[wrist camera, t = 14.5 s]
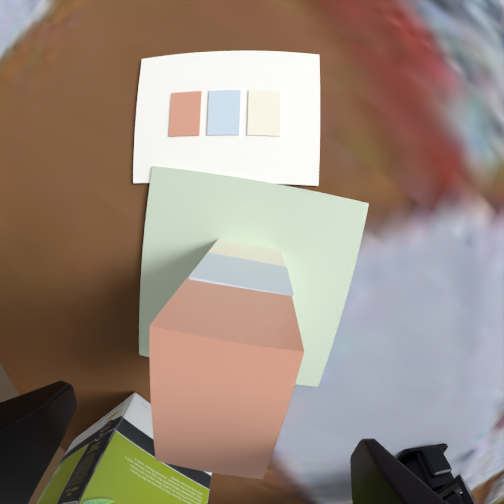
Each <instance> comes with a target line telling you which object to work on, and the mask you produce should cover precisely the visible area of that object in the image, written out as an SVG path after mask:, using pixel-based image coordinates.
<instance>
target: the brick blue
mask: <svg viewBox="0 0 504 504" xmlns="http://www.w3.org/2000/svg"><path fill="white" fill-rule="evenodd" d="M188 279H191V280H197V281H202V282H208V283H214V284H220V285H226V286H232V287H238V288H244V289H251V290H257V291H263V292H270V293H276V294H283V295H290V296H292V299H293V298H294V293H293V289H292V285H291V281H290V277H289V274H288V270H287V267H285V266H280V265H274V264H268V263H263V262H257V261H252V260H246V259H241V258H235V257H230V256H224V255H219V254H213V253H207V254H206V255H205V257H204V258H203V259H202V260H201V262H200V263H199V264H198V265H197V267H196V268H195V269H194V270H193V272H192V273H191V274H190V275H189V278H188Z"/></svg>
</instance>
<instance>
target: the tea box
mask: <svg viewBox="0 0 504 504" xmlns="http://www.w3.org/2000/svg"><path fill="white" fill-rule="evenodd" d="M211 476H212V473H211V472H205V471H200V470H195V469H190V468H185V467H181V466H176V465H172V464H168V463H164V462H160V461H156V459H155V449H154V438H153V426H152V411H151V404H150V403H149V402H148V401H146V400H145V399H144V398H143V397H141V396H140V395H139V394H137V393H135V392H134V393H133V394H132V395H131V396H129V397H128V398H127V399H126V400H124V401H123V402H122V403H121V404H119V405H118V406H117V407H115V408H114V409H113V410H112V411H110V412H109V413H108V414H106V415H105V416H104V417H102V418H101V419H100V420H99V421H97V422H96V423H95V424H93V425H92V426H91V427H89V428H88V429H87V430H85V431H84V432H83V433H81V434H80V435H79V436H78V437H76V438H75V439H74V440H73V442H72V444H71V445H70V447H69V448H68V450H67V452H66V453H65V455H64V457H63V459H62V460H61V462H60V463H59V465H58V467H57V468H56V470H55V472H54V474H53V476H52V477H51V479H50V481H49V483H48V484H47V485H46V487H45V489H44V491H43V493H42V494H41V496H40V498H39V500H38V502H37V503H36V504H207V503H208V497H209V490H210V482H211Z"/></svg>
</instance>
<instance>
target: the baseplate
mask: <svg viewBox="0 0 504 504" xmlns="http://www.w3.org/2000/svg"><path fill="white" fill-rule="evenodd" d="M368 205H369V203H365V202H360V201H356V200H352V199H347V198H343V197H339V196H334V195H329V194H325V193H320V192H315V191H310V190H305V189H300V188H295V187H290V186H285V185H279V184H274V183H268V182H263V181H257V180H251V179H245V178H239V177H232V176H226V175H219V174H212V173H205V172H198V171H191V170H183V169H175V168H167V167H158V166H152V173H151V179H150V187H149V194H148V202H147V211H146V220H145V229H144V240H143V252H142V266H141V283H140V308H139V355H142V356H146V357H150V356H149V328H150V324H151V323H152V322H153V320H154V319H155V318H156V317H157V315H158V314H159V313H160V311H161V310H162V309H163V308H164V306H165V305H166V304H167V302H168V301H169V300H170V299H171V297H172V296H173V295H174V293H175V292H176V291H177V290H178V288H179V287H180V286H181V285H182V283H183V282H184V281H185V280H186V279H188V278H189V275H190V274H191V273H192V272H193V270H194V269H195V268H196V267H197V265H198V264H199V263H200V262H201V260H202V259H203V258H204V257H205V255H206V254H207V253H208V251H209V250H210V249H211V248H212V246H213V245H214V244H215V243H216V241H217V240H218V239H220V240H226V241H231V242H237V243H243V244H249V245H254V246H260V247H266V248H271V249H277V250H281V251H282V255H283V260H284V264H285V267H287V270H288V274H289V277H290V281H291V285H292V289H293V293H294V298H293V303H294V308H295V312H296V317H297V321H298V325H299V330H300V334H301V339H302V343H303V348H304V355H303V358H302V362H301V366H300V369H299V373H298V376H297V379H296V383H295V384H296V385H306V386H317V387H318V385H319V382H320V379H321V377H322V374H323V371H324V368H325V365H326V362H327V359H328V356H329V353H330V350H331V347H332V344H333V341H334V338H335V335H336V332H337V328H338V325H339V322H340V319H341V315H342V312H343V308H344V305H345V301H346V298H347V294H348V291H349V287H350V283H351V279H352V276H353V272H354V268H355V264H356V260H357V256H358V251H359V247H360V243H361V238H362V234H363V229H364V225H365V220H366V215H367V210H368Z"/></svg>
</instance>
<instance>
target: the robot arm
mask: <svg viewBox="0 0 504 504" xmlns="http://www.w3.org/2000/svg"><path fill="white" fill-rule="evenodd" d="M76 406H77V403H76V398H75V394H74V389H73V386H72V385H71V384H69V383H66V382H64V381H58V382H55V383H53V384H50V385H48V386H45V387H42V388H40V389H37V390H34V391H31V392H29V393H26V394H23V395H20V396H18V397H15V398H12V399H10V400H6V401H4V402H1V403H0V504H28V503H29V501H30V499H31V496H32V495H33V493H34V491H35V489H36V487H37V485H38V483H39V482H40V480H41V478H42V476H43V474H44V472H45V471H46V469H47V467H48V465H49V463H50V462H51V460H52V458H53V456H54V455H55V453H56V451H57V449H58V448H59V446H60V444H61V442H62V440H63V437H64V435H65V433H66V430H67V428H68V426H69V423H70V421H71V419H72V417H73V414H74V412H75V410H76ZM447 447H448V446H447V444H441V445H436V446H429V447H423V448H416V449H408V450H405V451H404V452H403V453H402V455H401V456H400V457H399V459H398V460H397V459H396V458H395V457H394V456H393V455H392V454H390V453H389V452H388V451H387V450H386V449H385V448H384V447H383V446H382V445H381V444H380V443H378V442H377V441H376V440H375V439H362V440H361V441H360V442H359V444H358V445H357V447H356V448H355V450H354V452H353V453H352V455H351V483H352V501H353V504H476V502H475V499H474V497H473V495H472V493H471V491H470V489H469V487H468V485H467V484H466V482H465V481H464V479H463V478H462V477H461V475H460V474H459V475H458V476H456V478H455V479H454V477H453V475H452V473H451V470H452V469H451V467H450V465H449V463H448V461H447V459H446V458H445V456H444V454H443V453H444V452H445V450H446V449H447ZM460 492H463V493H461V494H460Z"/></svg>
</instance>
